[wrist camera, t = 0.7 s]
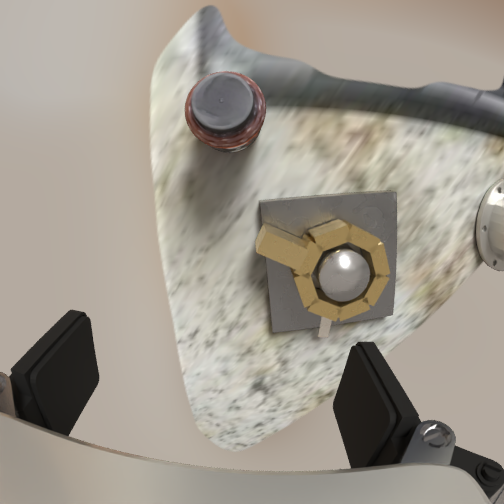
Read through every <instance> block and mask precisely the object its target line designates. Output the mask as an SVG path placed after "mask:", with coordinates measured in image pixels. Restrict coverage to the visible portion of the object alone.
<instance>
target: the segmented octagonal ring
mask: <svg viewBox="0 0 504 504" xmlns="http://www.w3.org/2000/svg"><path fill="white" fill-rule="evenodd" d="M308 232H309V234H310V236H309V235H306V234H304V235H303V237H302V239H300V238H298V237H296V236H294V235H291V234H289V233H287V232H285V231H282V230H280V229H278V228H276V227H273V226H271V225H269V224H267V223H263V225H262V228H261V230H260V232H259V234H258V236H257V238H256V241H255V244H256V253H258V254H260V255H263V256H265V257H267V258H270V259H272V260H275V261H277V262H279V263H282V264H284V265H286V266H289V267H290V270H291V272H292V275H293V278H294V281H295V283H296V286H297V289H298V292H299V295H300V297H301V300H302V303H303V305H304V308H305V307H306V308H307V311H309V312H312V313H314V314H317V315H320V316H322V317H325V318H327V319H330V320H333V321H335V322H336V321H337V319H338V318H339V320H340V322H341V321H343V320H346V319H348V318H351V317H353V316H356V315H358V314H361V313H363V312H365V311H368V310H370V307H369V305H372V306H374V305H375V303H376V302H377V300H378V298H379V296H380V295H381V293H382V291H383V289H384V288H385V286H386V284H387V282H388V280H389V279H390V278H389V277H388V276H387V275H388V274H390V269H389V265H388V260H387V256H386V252H385V247H384V243H382V242H381V241H380V240H381V239H379V238H377V237H376V236H374V235H373V234H371V233H369V232H368V231H366V230H364V229H362V228H360V227H358V226H356V225H354V224H352V223H350V222H348V221H346V220H344V219H343V220H342V221H341V220H339V219H337V220H334V221H331V222H328V223H326V224H323V225H320V226H318V227H315V228H312V229H310V230H308ZM346 242H350V243H352V244H354V245H356V246H358V247H360V248H361V250H362V254H363V258H364V259H365V260H366V262H367V264H368V266H369V269H370V278H369V282H368V285H367V287H366V288H365V290H364V291H363V292H362V293H361V294H360V295H359V296H357V297H356V298H354V299H352V300H349V301H336V300H333V299H331V298H329V297H328V296H327V295H326V294H325V293H324V291H321V290H319V289H316V288H315V287H314V284H313V281H312V278H311V274H312V272H313V270H314V268H315V266H316V264H317V262H318V260H319V258H320V256H321V255H322V253H323V251H326V250H328V249H331V248H333V247H336V246H339V245H341V244H344V243H346Z"/></svg>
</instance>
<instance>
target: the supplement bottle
mask: <svg viewBox="0 0 504 504" xmlns="http://www.w3.org/2000/svg"><path fill="white" fill-rule="evenodd" d="M265 115H266V102H265V98H264V96H263V93H262V91H261V90H260V88H259V87H258V86H257V84H256V83H255V82H254V81H252V80H251V79H250V78H248V77H246V76H245V75H242V74H240V73H236V72H228V71H222V72H216V73H213V74H210V75H207V76H206V77H204V78H202V79H201V80H200V81H198V82H197V83H196V84H195V85H194V87H193V88H192V89H191V91H190V92H189V94H188V97H187V100H186V103H185V117H186V121H187V124H188V126H189V128H190V130H191V131H192V133H193V134H194V135H195V136H196V137H197V138H198V139H199V140H201V141H202V142H204V143H205V144H207V145H209V146H211V147H212V148H214V149H216V150H219V151H223V152H236V151H240V150H242V149H244V148H246V147H248V146H249V145H250V144H252V143H253V142H254V141H255V139H256V138H257V136H258V135H259V133H260V130H261V127H262V125H263V122H264V119H265Z"/></svg>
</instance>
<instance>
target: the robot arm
mask: <svg viewBox="0 0 504 504" xmlns="http://www.w3.org/2000/svg"><path fill="white" fill-rule="evenodd" d="M476 240H477V246H478V250H479V253H480V256H481V257H482V259H483V261H484V262H485V263H486V264H487V265H488V266H489V267H491V268H493V269H495V270H497V271H504V179H500V180H498V181H497V182H495V183H494V184H493V185H492V186H491V187H490V188H489V190H488V191H487V193H486V194H485V196H484V198H483V201H482V203H481V206H480V209H479V212H478V217H477V225H476ZM11 372H12V374H11V375H10V376H9V377H8V376H7V375H6V374H4V373H3V372H0V504H504V469H503V468H502V466H501V465H500V464H498V463H497V462H495V461H493V460H491V459H488V458H486V457H483V456H480V455H478V454H475V453H472V452H470V451H467V450H465V449H462V448H460V447H458V446H455V441H456V437H455V434H454V432H453V431H452V429H451V428H450V427H449V426H447V425H446V424H444V423H442V422H439V421H435V420H427V421H423V422H421V421H420V419H419V417H418V416H419V415H418V413H417V412H416V410H415V408H414V406H413V405H412V403H411V401H410V400H409V398H408V396H407V395H406V393H405V391H404V390H403V388H402V386H401V385H400V383H399V382H398V380H397V379H396V377H395V375H394V373H393V372H392V370H391V369H390V367H389V365H388V364H387V362H386V360H385V359H384V357H383V356H382V354H381V353H380V351H379V349H378V348H377V346H376V345H375V343H374V342H357V344H356V346H352V347H351V350H350V353H349V356H348V359H347V363H346V366H345V369H344V372H343V375H342V378H341V381H340V384H339V387H338V390H337V393H336V396H335V399H334V402H333V410H334V413H335V417H336V420H337V423H338V426H339V430H340V433H341V436H342V439H343V442H344V446H345V449H346V453H347V456H348V459H349V463H350V466H351V469H339V470H322V471H295V472H294V471H287V472H286V471H285V472H283V471H276V472H275V471H249V470H234V469H220V468H211V467H203V466H195V465H188V464H181V463H175V462H169V461H163V460H157V459H152V458H147V457H142V456H138V455H133V454H129V453H124V452H121V451H117V450H113V449H109V448H105V447H101V446H98V445H95V444H91V443H88V442H84V441H81V440H78V439H75V438H72V437H69V434H70V432H71V430H72V429H73V427H74V425H75V423H76V421H77V420H78V418H79V416H80V414H81V412H82V411H83V409H84V407H85V406H86V404H87V402H88V400H89V398H90V397H91V395H92V393H93V392H94V390H95V388H96V387H97V385H98V382H99V372H98V366H97V361H96V355H95V349H94V342H93V336H92V328H91V321H90V318H89V317H87V315H86V313H84V312H80V311H75V310H70V311H68V312H67V313H66V314H65V315H64V316H63V317H62V318H61V319H60V320H59V321H58V322H57V323H56V324H55V325H54V326H53V327H52V328H51V329H50V330H49V331H48V332H47V333H45V334H44V336H43V337H42V338H40V339H39V341H37V342H36V344H35V345H34V346H33V347H32V348H31V349H30V350H29V351H28V352H27V353H26V354H25V355H24V356H23V357H22V358H21V359H20V360H19V361H18V362H17V363H16V364H15V365H14V366H13V367H12V368H11Z"/></svg>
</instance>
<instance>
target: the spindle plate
mask: <svg viewBox="0 0 504 504" xmlns="http://www.w3.org/2000/svg"><path fill="white" fill-rule="evenodd" d="M260 208H261V218H262V225H263V223H267V224H269V225H271V226H273V227H276V228H278V229H280V230H282V231H285V232H287V233H289V234H291V235H294V236H296V237H298V238H300V239H302V237H303V235H304V234H306V235H309V236H310V234H309V232H308V230H310V229H312V228H315V227H318V226H320V225H323V224H326V223H328V222H331V221H334V220H337V219H339V220H341V221H342V220H343V219H344V220H346V221H348V222H350V223H352V224H354V225H356V226H358V227H360V228H362V229H364V230H366V231H368V232H369V233H371V234H373V235H374V236H376V237H377V238H379V239H381V240H380V241H381V242H382V243H384V247H385V252H386V256H387V260H388V265H389V269H390V274H388V275H387V276H388V277H389V278H390V279H389V280H388V282H387V284H386V286H385V288H384V289H383V291H382V293H381V295H380V296H379V298H378V300H377V302H376V303H375V305H374V306H372V305H369V307H370V310H368V311H365V312H363V313H361V314H358V315H356V316H353V317H351V318H348V319H346V320H343V321H341V322H340V320H339V318H338V319H337V321H336V322H335V321H333V320H330V319H327V318H325V317H322V316H320V315H317V314H314V313H312V312H309V311H307V308H306V307H305V308H304V305H303V303H302V300H301V297H300V295H299V292H298V289H297V286H296V283H295V281H294V278H293V275H292V272H291V270H290V267H289V266H286V265H284V264H282V263H279V262H277V261H275V260H272V259H270V258H267V257H265V258H266V268H267V279H268V289H269V300H270V311H271V322H272V330H273V333H274V332H283V331H292V330H300V329H308V328H315V327H320V328H319V333H318V337H328V336H329V331H330V326H331V325H337V324H343V323H350V322H356V321H362V320H368V319H374V318H380V317H385V316H391V315H393V308H394V295H395V280H396V257H397V195H396V192H395V191H391V190H387V191H370V192H354V193H340V194H326V195H314V196H302V197H291V198H280V199H270V200H260ZM311 278H312V281H313V284H314V287H315V288H316V289H319V290H321V291H324V293H325V294H326V295H327V296H328V297H329V298H331V299H333V300H336V301H349V300H352V299H354V298H356V297H357V296H359V295H360V294H361V293H362V292H363V291H364V290H365V288H366V287H367V285H368V282H369V278H370V269H369V266H368V264H367V262H366V260H365V259H364V258H363V254H362V250H361V248H360V247H358V246H356V245H354V244H352V243H350V242H346V243H344V244H341V245H339V246H336V247H333V248H331V249H328V250H326V251H323V253H322V255H321V256H320V258H319V260H318V262H317V264H316V266H315V268H314V270H313V272H312V274H311Z"/></svg>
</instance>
